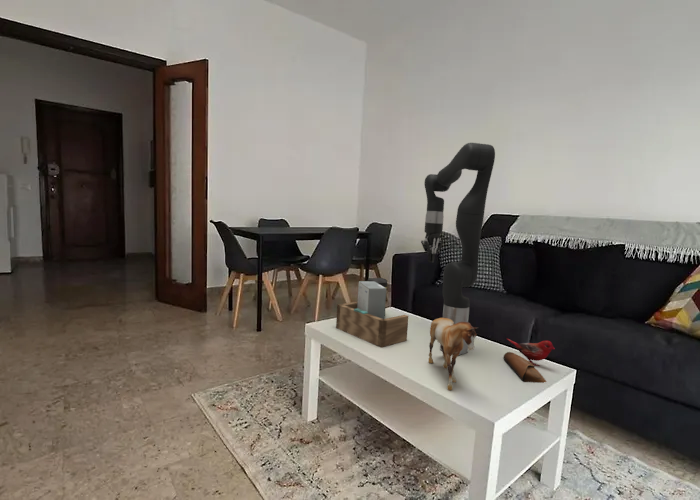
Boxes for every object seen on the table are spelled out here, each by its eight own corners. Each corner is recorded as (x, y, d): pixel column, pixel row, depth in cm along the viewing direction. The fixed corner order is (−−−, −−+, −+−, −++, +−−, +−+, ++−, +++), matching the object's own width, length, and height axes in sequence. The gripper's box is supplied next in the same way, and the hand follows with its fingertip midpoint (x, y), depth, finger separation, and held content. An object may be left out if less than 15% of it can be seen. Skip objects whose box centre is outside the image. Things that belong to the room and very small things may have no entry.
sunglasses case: (549, 383, 126) (540, 365, 125) (529, 393, 126) (520, 374, 126) (526, 361, 144) (518, 344, 143) (508, 369, 144) (500, 353, 143)
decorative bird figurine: (550, 372, 134) (553, 343, 133) (501, 355, 148) (504, 328, 147) (554, 370, 136) (557, 342, 135) (506, 353, 150) (509, 327, 149)
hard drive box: (383, 337, 160) (387, 288, 158) (365, 338, 158) (368, 288, 156) (372, 325, 175) (375, 280, 173) (355, 326, 173) (357, 280, 171)
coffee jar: (369, 320, 183) (372, 280, 181) (361, 315, 190) (364, 276, 188) (388, 318, 187) (390, 279, 185) (379, 313, 194) (382, 276, 192)
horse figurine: (473, 397, 113) (479, 327, 111) (445, 397, 113) (452, 325, 111) (443, 355, 144) (447, 299, 142) (421, 355, 144) (426, 298, 141)
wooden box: (406, 340, 158) (408, 314, 157) (381, 347, 149) (383, 319, 148) (360, 322, 178) (362, 299, 177) (336, 327, 169) (337, 303, 168)
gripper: (431, 222, 165) (428, 264, 167) (450, 222, 173) (447, 262, 175) (417, 221, 170) (414, 261, 173) (436, 221, 179) (433, 260, 181)
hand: (430, 262), depth 174 cm, fingers closed
